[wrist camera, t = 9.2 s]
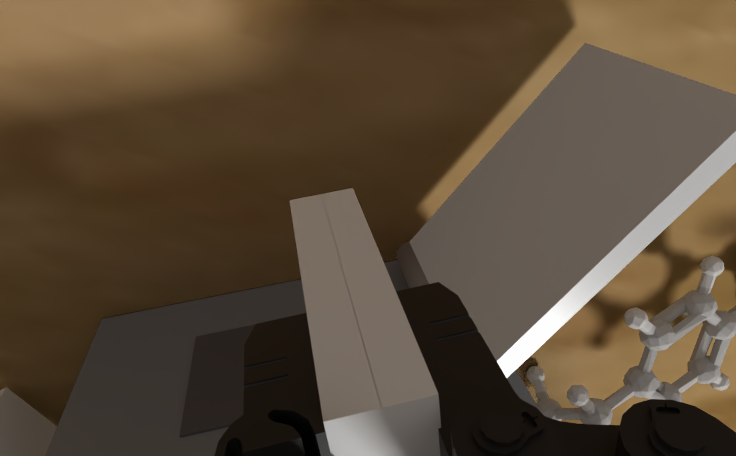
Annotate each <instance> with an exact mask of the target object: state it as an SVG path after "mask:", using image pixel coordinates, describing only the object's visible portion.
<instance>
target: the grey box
mask: <svg viewBox="0 0 736 456" xmlns="http://www.w3.org/2000/svg"><path fill="white" fill-rule="evenodd" d="M384 264H385V267H386V269H387V271H388V274H389V276H390V279H391V281H392V283H393V286H394V288H395V291H400V290H404V289H409V287H408V284H407V282H406V279H405V277H404V274H403V272H402V270H401V267H400V265H399V262H398V260H395V261H390V262H385V263H384ZM303 313H307V312H306V306H305V299H304V293H303V286H302V280H301V279H300V280H295V281H290V282H285V283H280V284H275V285H270V286H265V287H260V288H255V289H250V290H244V291H239V292H234V293H229V294H224V295H219V296H214V297H209V298H204V299H199V300H194V301H189V302H184V303H179V304H174V305H169V306H164V307H159V308H154V309H149V310H144V311H139V312H134V313H129V314H124V315H119V316H114V317H109V318H104V319H102V320H101V322H100V324H99V327H98V329H97V332H96V334H95V336H94V339H93V341H92V344H91V346H90V348H89V351H88V353H87V356H86V358H85V361H84V363H83V365H82V368H81V370H80V373H79V375H78V377H77V380H76V382H75V385H74V387H73V389H72V392H71V394H70V397H69V399H68V401H67V404H66V406H65V409H64V411H63V414H62V416H61V418H60V421H59V423H58V426H57V428H56V430H55V433H54V435H53V438H52V440H51V442H50V445H49V447H48V450H47V452H46V454H45V456H214V455H215V451H216V448H217V445H218V441H219V440H220V438H221V437H222V436H223V434H224V433H225V431H226V430H227V429H228V427H229V426H230V425H231V424H232V423H233V422H234V421H236V420H237V419H238V418H240V417H241V416H242V415H243V403H244V371H245V369H244V344H245V342H246V341H247V339H248V337H249V335H250V333H251V332H252V330H253V328H254V326H255V324H257V323H262V322H267V321H271V320H276V319H280V318H285V317H289V316H294V315H298V314H303ZM507 380H508V381H509V383H510V385H511V387H512V388H513V390H514V391H515V393H516V394H517V395H518V397H519V398H520V399H522V400H524V401H525V402H527V403H529V404H531V405H533V406H534V407H536V408H538V407H537V405H536V403H535V401H534V400H533V398H532V396H531V395H530V393H529V391H528V389H527V388H526V386H525V384H524V382H523V381H522V379H521V377H520V376H519V374H518V372H517V370H515V371H514V372H513V373H512V374H511V375H510V376H509V377H508V378H507ZM538 410H539V408H538ZM539 411H540V410H539Z"/></svg>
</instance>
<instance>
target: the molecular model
mask: <svg viewBox="0 0 736 456" xmlns="http://www.w3.org/2000/svg"><path fill="white" fill-rule="evenodd" d="M700 267H701V270H702V276H701V279H700V282H699V285H698V288H697V290H692V291H690V292H688V293H687V294H686V295H684V296H683V297H682V298H680V299H679V300H677V301H676V302H675V303H673V304H672V305H670V306H669V307H667V308H666V309H664V310H663V311H661V312H660V313H659V314H657V315H656V316H654V317H653V318H651V319H650V320H648V317H647V314H646V312H644V311H643V310H641V309H639V308H637V307H635V308H632V309H628V310H627V312H626V313H625V314H624V317H625V323H626V324H627V325H628V326H629V327H630V328H633V329H640V332H639V336H640V340H641V342H642V343H643V344H644V345H646V346H645V349H644V352H643V355H642V358H641V361H640V363H639V366H634V367H632V368H630V369H629V370H628V372H627V373H626V374H625V377H624V380H623V382H624V384H625V386H623V387H622V388H621V389H619V390H618V391H616V392H615V393H613V394H612V395H611V396H609V397H608V398H606V399H605V400H602V399H596V398H589V394H588V390H587V389H586V388H585V387H583V386H582V385H572V386H571V388H570V389H569V390H568V391H567V398H568V399H569V401H570V402H571V404H572V405H575V406H577V407H579V406H580V408H561V406H560V404H559V403H557V402H556V401H555V400H553V399H551V398H549V397H548V394H547V391H546V388H545V384H544V381H543V380H544V378H545V375H544V372H543V370H542V369H541V368H540V367H537V366H532V367H530V368H529V369H528V371H527V375H526V377H527V378H528V380H529V381H530V382H531V383H533V386H534V389H535V392H536V395H537V398H538V402H537V403H536V405H537V407H538V408H539V410H540V412H541V413H542V414H543V415H544V416H546V417H549V418H552V419H555V420H558V421H562V419H570V420H581V421H582V423H583V424H596V425H609V424H610V422H611V419H612V416H613V413H612V410H613V409H614V408H616V407H617V406H619V405H620V404H622V403H623V402H625V401H626V400H627V399H629V398H630V397H632V396H633V395H634V396H636V397H637V398H642V397H646V398H647V399H649V400H650V399H663V400H675V401H678V402H682V397H681V395H680V394H681V393H682V392H684V391H685V390H686V389H688V388H689V387H690V386H692V385H693V384H694V383H696V382H699V383H702V384H710V386H712V387H713V388H714V389H717V390H721V391H722V390H725V389H727V388H728V386H729V384H730V383H729V377H727V376H726V375H724V374H723V373H721V372H720V366H721V364H722V361H723V358H724V356H725V353H726V350H727V348H728V345H729V342H730V340H731V337H734V335H735V334H736V306H735V307H733V308H732V309H731V310H729V311H728V312H727V311H718V310H717V308H718V307H717V303H716V300H715V299H714V298H713V297H712V295H711V294H710V292H711V289H712V286H713V284H714V281H715V278H716V276H717V275H719V274H721V273H722V272H723V270H724V262H723V261H722V260H721V259H720V258H719V257H715V256H712V255H711V256H708V257H705V258H704V259H703V260H702V262H701V264H700ZM683 313H685V314H686V315H687V316H688V317H686V318H685V319H684V320H682V321H681V322H680V323H678V324H677V325H675V326H674V327H673V328H672V326H671V325H670V324H669V323H670V322H672V321H673V320H675V319H676V318H677V317H679V316H680V315H682V314H683ZM701 322H703V326H702V329H701V332H700V334H699V337H698V340H697V342H696V345H695V348H694V350H693V353H692V356H691V358H690V361H689V362H688V372H687V373H686V374H685V375H683V376H682V377H681V378H679V379H678V380H677V381H675V382H674V383H672V384H669V383H667V382H660V381H658V379H657V377H656V376H655V374H654V373H653V372H652V371H651V368H652V366H653V363H654V360H655V358H656V355H657V353H658V350H665V349H668V348H669V347H670V346H671V345H672V344H674V343H675V342H676V341H678V340H679V339H680V338H681V337H683V336H684V335H685V334H687V333H688V332H689V331H691V330H692V329H693V328H695V327H696V326H697V325H699V324H700V323H701ZM713 338H715V339H716V340H715V343H714V345H713V348H712V351H711V354H710V356H706V354H707V351H708V349H709V346H710V344H711V341H712V339H713Z"/></svg>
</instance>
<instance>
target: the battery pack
mask: <svg viewBox="0 0 736 456" xmlns="http://www.w3.org/2000/svg"><path fill="white" fill-rule="evenodd" d="M56 428H57V426H56V425H55V424H53V423H52V422H51V421H49V420H48V419H47V418H46V417H44V416H43V415H42V414H40V413H39V412H38V411H37V410H35V409H34V408H33V407H31V406H30V405H29V404H28V403H26V402H25V401H24V400H22V399H21V398H20V397H19V396H17V395H16V394H15V393H13V392H12V391H11V390H9V389H8V388H7V387H6V388H4V389H2V390H0V456H45V454H46V452H47V450H48V447H49V445H50V442H51V440H52V438H53V435H54V433H55V430H56Z"/></svg>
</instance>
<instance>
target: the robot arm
mask: <svg viewBox="0 0 736 456" xmlns="http://www.w3.org/2000/svg"><path fill="white" fill-rule="evenodd" d="M289 201H290V208H291V214H292V221H293V227H294V234H295V240H296V247H297V253H298V260H299V266H300V273H301V280H302V286H303V293H304V299H305V306H306V312H307V313H303V314H298V315H294V316H289V317H285V318H280V319H276V320H271V321H267V322H262V323H257V324H255V326H254V328H253V330H252V332H251V333H250V335H249V337H248V339H247V341H246V342H245V344H244V369H245V371H244V403H243V415H242V416H241V417H240V418H238V419H237V420H236V421H234V422H233V423H232V424H231V425H230V426H229V427H228V429H227V430H226V431H225V433H224V434H223V436H222V437H221V438H220V440H219V441H218V445H217V448H216V451H215V455H214V456H736V433H735V432H734V431H733V430H731V429H730V428H729V427H727V426H726V425H725V424H723V423H722V422H721V421H719V420H718V419H716V418H715V417H713V416H711V415H709V414H708V413H706V412H704V411H702V410H701V409H699V408H697V407H695V406H692V405H689V404H685V403H682V402H678V401H675V400H663V399H650V400H647V401H643V402H640V403H637V404H634V405H633V406H632V407H631V408H630V409H628V410H627V411H626V412H625V413H624V414H623V416H622V420H621V424H620V425H596V424H576V423H568V422H561V421H558V420H555V419H552V418H549V417H546V416H544V415H543V414H542V413H541V412H540V411H539V410H538V408H536V407H534V406H533V405H531V404H529V403H527V402H525V401H524V400H522V399H520V398H519V397H518V395H517V394H516V393H515V391H514V390H513V388H512V387H511V385H510V383H509V381H508V380H507V378H506V376H505V375H504V373H503V371H502V369H501V368H500V366H499V364H498V363H497V361H496V359H495V358H494V356H493V354H492V352H491V351H490V349H489V347H488V346H487V344H486V342H485V340H484V339H483V337H482V335H481V334H480V333H479V332H478V328H477V327H476V325H475V323H474V322H473V320H472V318H471V317H469V313H468V311H467V310H466V308H465V306H464V305H463V303H462V301H461V299H460V298H459V296H458V295H457V294H455V293H454V292H453V291H451V290H450V289H448V288H447V287H445V286H444V285H442V284H441V283H439V282H436V283H432V284H427V285H422V286H418V287H413V288H409V289H404V290H400V291H395V288H394V286H393V283H392V281H391V279H390V276H389V274H388V271H387V269H386V267H385V264H384V262H383V259H382V257H381V255H380V252H379V250H378V247H377V245H376V243H375V240H374V238H373V235H372V233H371V230H370V228H369V226H368V223H367V221H366V218H365V216H364V214H363V211H362V209H361V206H360V204H359V202H358V199H357V197H356V194H355V192H354V190H353V188H350V189H345V190H340V191H335V192H329V193H324V194H319V195H314V196H309V197H304V198H299V199H294V200H289Z"/></svg>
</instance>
